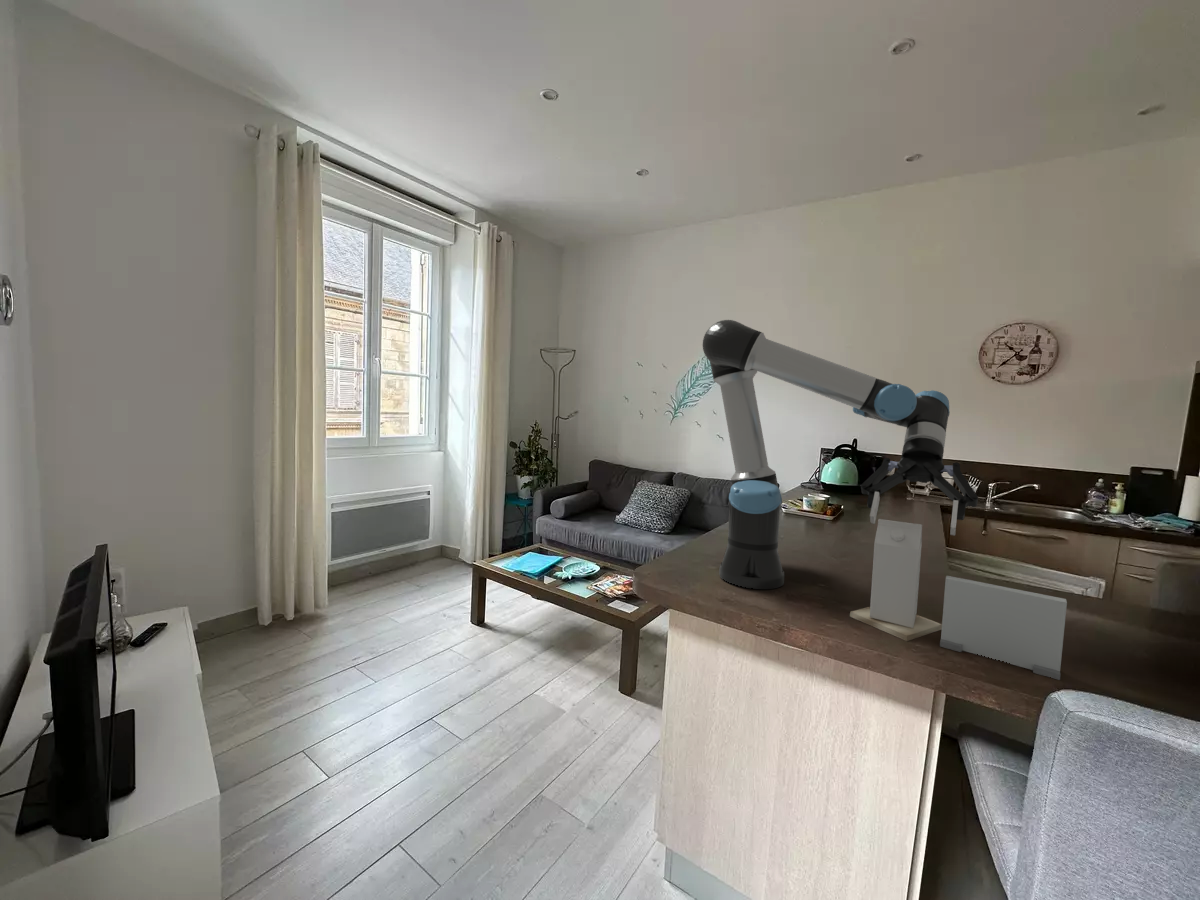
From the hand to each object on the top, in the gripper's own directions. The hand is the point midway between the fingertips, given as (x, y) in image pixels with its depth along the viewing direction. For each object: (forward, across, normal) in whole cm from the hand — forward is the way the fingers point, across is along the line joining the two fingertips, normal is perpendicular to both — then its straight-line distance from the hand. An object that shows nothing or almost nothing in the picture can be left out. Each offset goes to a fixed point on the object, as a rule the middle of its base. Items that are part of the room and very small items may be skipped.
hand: (910, 525), depth 93 cm
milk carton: (+17, +1, -7) cm, 19 cm away
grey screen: (+21, -14, -5) cm, 25 cm away
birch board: (+18, +1, -8) cm, 20 cm away
